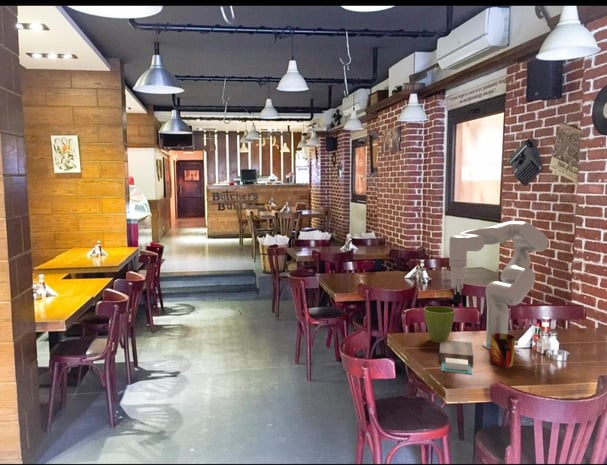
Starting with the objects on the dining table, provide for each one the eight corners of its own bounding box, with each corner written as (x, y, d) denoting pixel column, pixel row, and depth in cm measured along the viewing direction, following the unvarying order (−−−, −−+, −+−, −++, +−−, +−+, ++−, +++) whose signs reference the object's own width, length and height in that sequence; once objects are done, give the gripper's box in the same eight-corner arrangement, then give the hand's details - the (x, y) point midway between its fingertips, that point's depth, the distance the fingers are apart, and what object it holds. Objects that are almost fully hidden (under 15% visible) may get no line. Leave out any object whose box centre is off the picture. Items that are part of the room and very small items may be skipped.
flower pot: (439, 347, 238) (440, 314, 237) (416, 339, 251) (417, 308, 250) (460, 342, 247) (461, 310, 245) (437, 335, 259) (438, 304, 258)
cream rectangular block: (468, 364, 206) (468, 370, 206) (467, 359, 211) (467, 365, 211) (445, 362, 208) (445, 368, 208) (445, 357, 214) (445, 363, 214)
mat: (470, 364, 214) (470, 363, 214) (471, 374, 202) (471, 373, 202) (441, 362, 217) (441, 361, 217) (441, 371, 206) (441, 370, 205)
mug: (507, 371, 206) (508, 343, 205) (485, 360, 219) (486, 334, 218) (525, 369, 209) (527, 341, 208) (503, 358, 222) (504, 332, 221)
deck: (471, 350, 233) (471, 342, 233) (473, 364, 214) (473, 355, 214) (440, 348, 237) (440, 339, 237) (439, 361, 218) (439, 352, 217)
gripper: (448, 260, 233) (448, 299, 235) (449, 265, 219) (449, 306, 221) (465, 260, 232) (465, 299, 233) (467, 265, 217) (467, 307, 219)
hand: (457, 302), depth 227 cm, fingers closed
